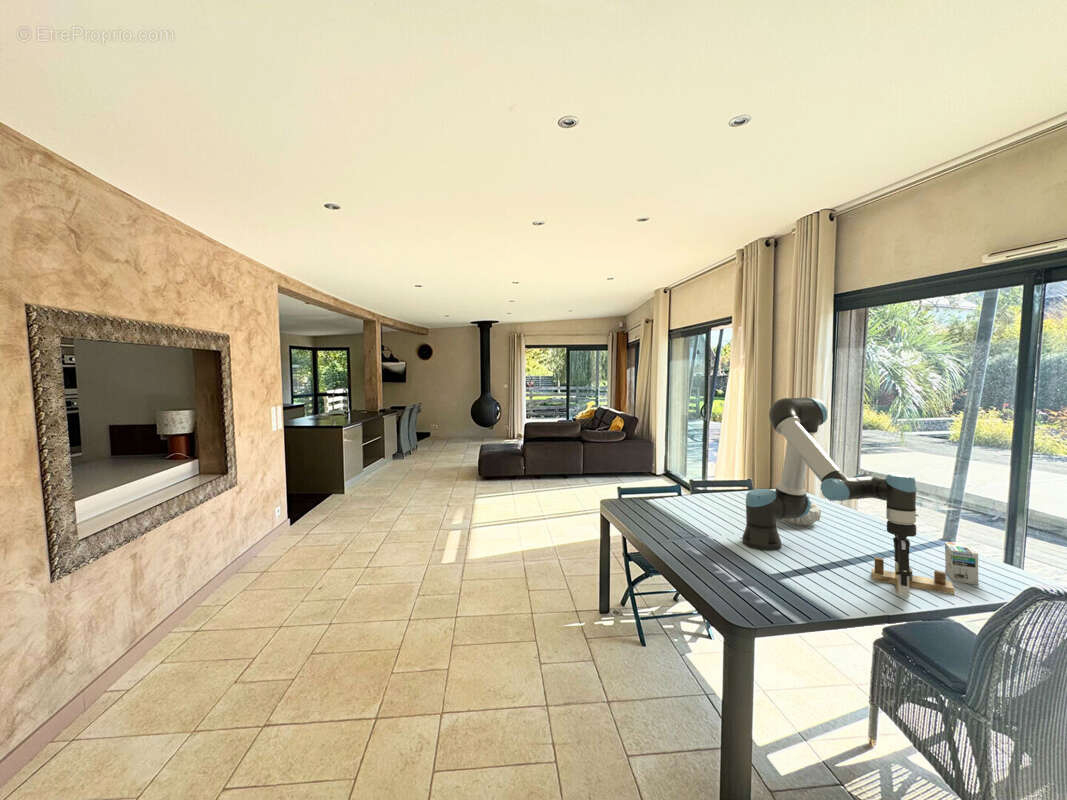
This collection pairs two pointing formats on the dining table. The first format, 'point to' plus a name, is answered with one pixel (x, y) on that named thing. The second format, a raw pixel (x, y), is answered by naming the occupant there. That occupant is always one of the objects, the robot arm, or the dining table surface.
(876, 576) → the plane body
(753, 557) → the dining table surface
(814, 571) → the dining table surface
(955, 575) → the light bulb box
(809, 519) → the bowl
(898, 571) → the lever cap
